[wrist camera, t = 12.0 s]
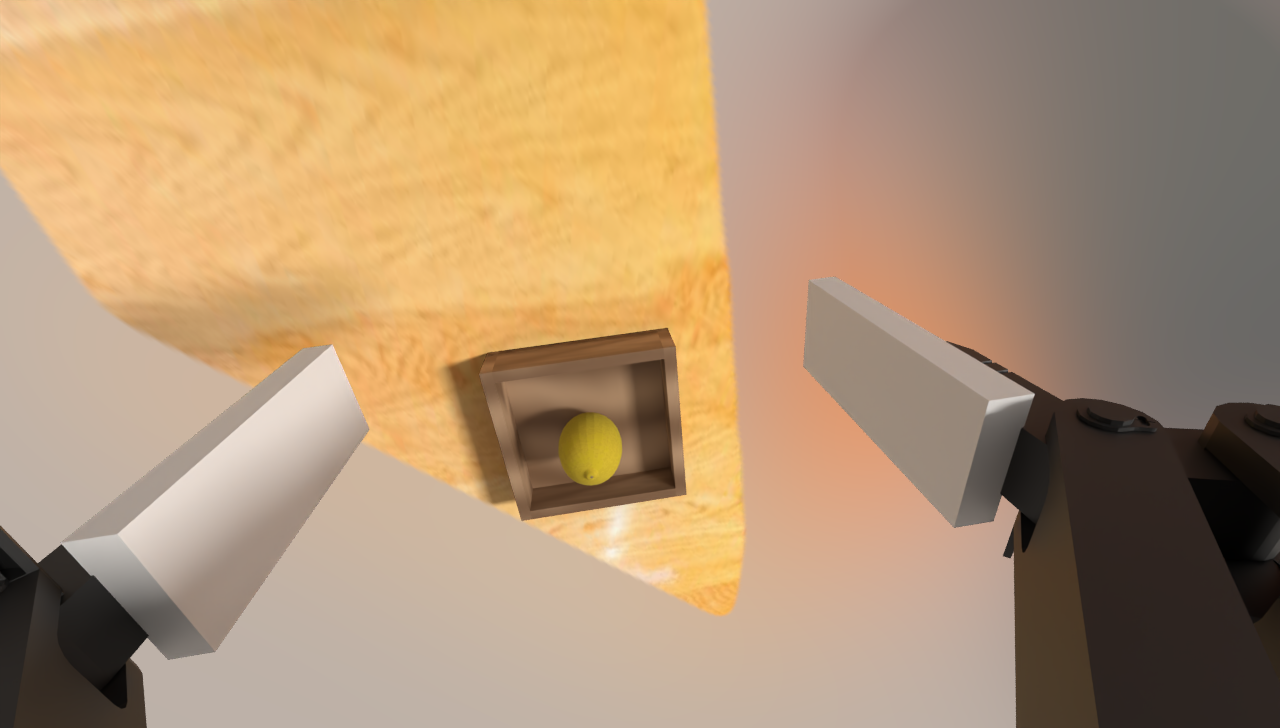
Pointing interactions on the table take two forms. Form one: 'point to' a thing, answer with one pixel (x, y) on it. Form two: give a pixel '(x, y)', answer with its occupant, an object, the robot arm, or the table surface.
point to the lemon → (590, 448)
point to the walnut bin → (578, 383)
